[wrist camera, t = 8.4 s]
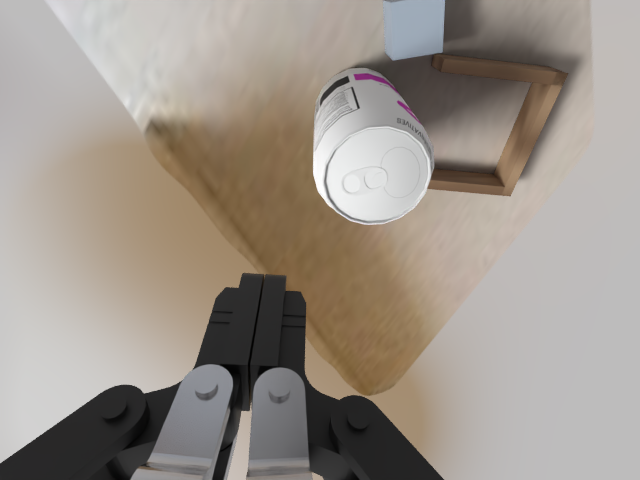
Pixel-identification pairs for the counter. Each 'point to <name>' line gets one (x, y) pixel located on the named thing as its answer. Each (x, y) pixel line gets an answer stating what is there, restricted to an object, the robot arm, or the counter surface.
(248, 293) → the robot arm
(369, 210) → the supplement can
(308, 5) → the counter surface
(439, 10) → the slate-blue block
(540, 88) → the frame
